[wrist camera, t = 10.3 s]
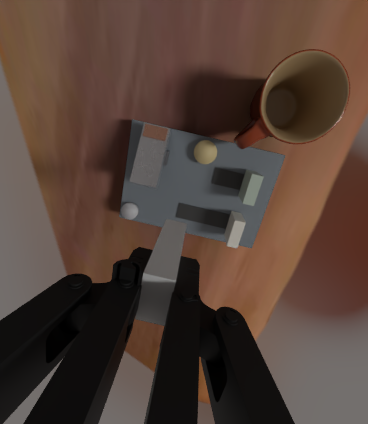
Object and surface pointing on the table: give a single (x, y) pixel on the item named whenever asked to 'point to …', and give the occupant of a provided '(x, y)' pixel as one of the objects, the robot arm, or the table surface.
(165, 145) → the block
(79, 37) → the table surface
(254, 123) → the mug
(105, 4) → the table surface
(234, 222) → the pale grey cuboid
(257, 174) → the grey block
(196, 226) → the console
